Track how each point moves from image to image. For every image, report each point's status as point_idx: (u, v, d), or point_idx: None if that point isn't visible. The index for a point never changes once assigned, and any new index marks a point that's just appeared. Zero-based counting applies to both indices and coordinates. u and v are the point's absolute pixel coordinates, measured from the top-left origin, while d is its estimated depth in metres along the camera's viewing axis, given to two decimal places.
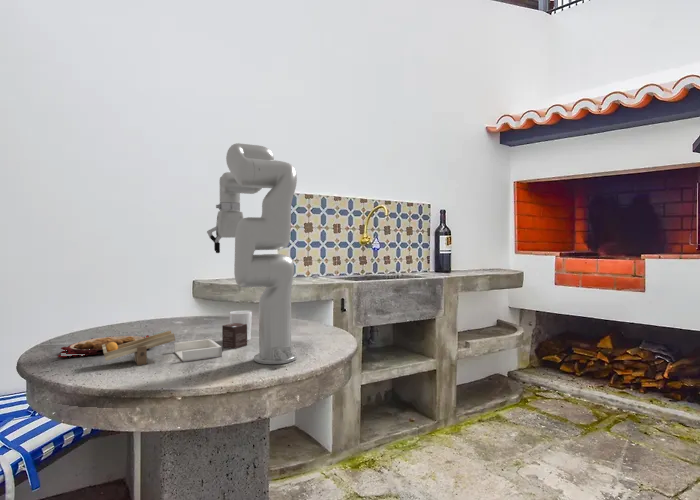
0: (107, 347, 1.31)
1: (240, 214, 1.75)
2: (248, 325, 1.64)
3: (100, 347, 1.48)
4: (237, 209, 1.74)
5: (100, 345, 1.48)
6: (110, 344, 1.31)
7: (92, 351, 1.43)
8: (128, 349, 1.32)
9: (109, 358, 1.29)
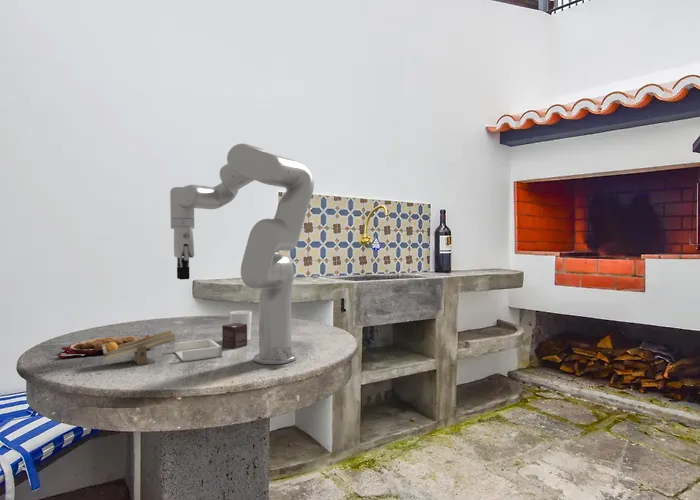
0: (107, 347, 1.31)
1: None
2: (248, 325, 1.64)
3: (100, 347, 1.48)
4: None
5: (100, 345, 1.48)
6: (110, 344, 1.31)
7: (92, 351, 1.43)
8: (128, 349, 1.32)
9: (109, 358, 1.29)
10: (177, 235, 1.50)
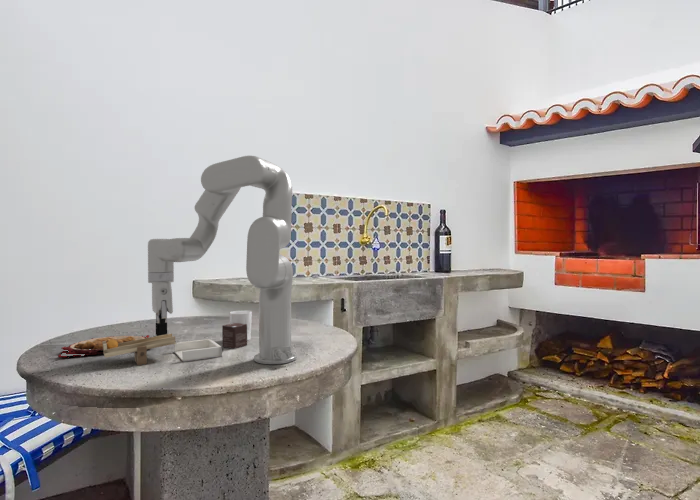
0: (108, 344, 1.31)
1: None
2: (248, 325, 1.64)
3: (100, 347, 1.48)
4: None
5: (100, 345, 1.48)
6: (111, 341, 1.31)
7: (92, 351, 1.43)
8: (128, 348, 1.32)
9: (108, 355, 1.29)
10: (154, 290, 1.41)
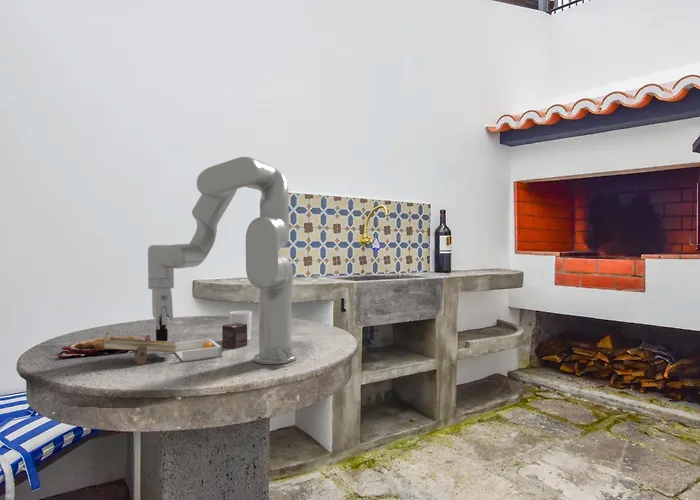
0: None
1: None
2: (248, 325, 1.64)
3: (100, 347, 1.48)
4: None
5: (100, 345, 1.48)
6: (206, 344, 1.45)
7: (92, 351, 1.43)
8: (129, 345, 1.32)
9: (109, 346, 1.29)
10: (154, 296, 1.42)
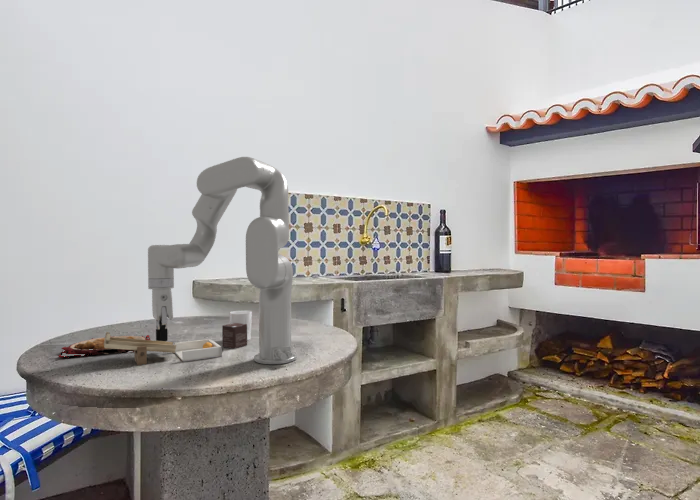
0: (204, 346, 1.45)
1: None
2: (248, 325, 1.64)
3: (101, 347, 1.48)
4: None
5: (100, 345, 1.48)
6: (208, 344, 1.45)
7: (93, 351, 1.43)
8: (129, 345, 1.32)
9: (109, 346, 1.29)
10: (154, 296, 1.42)
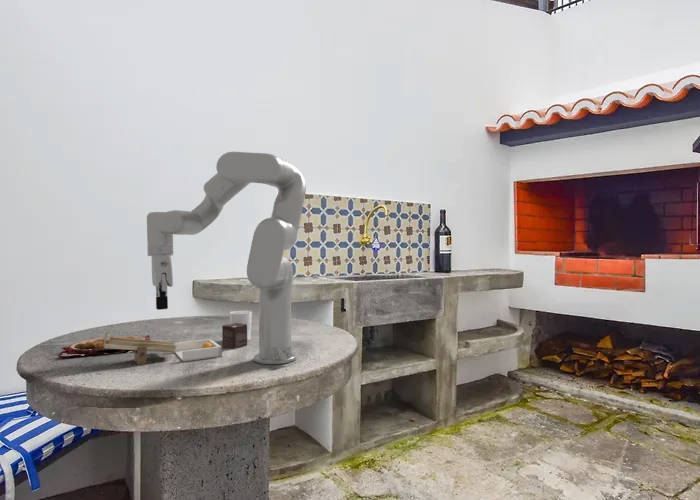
0: (204, 346, 1.45)
1: None
2: (248, 325, 1.64)
3: (101, 347, 1.48)
4: None
5: (101, 345, 1.48)
6: (207, 344, 1.45)
7: (93, 351, 1.43)
8: (129, 345, 1.32)
9: (109, 346, 1.29)
10: (154, 263, 1.41)
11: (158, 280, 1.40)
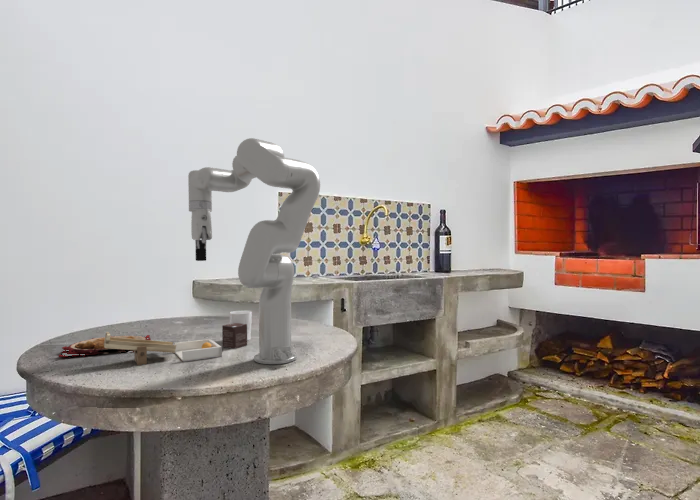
0: (203, 347, 1.45)
1: None
2: (248, 325, 1.64)
3: (101, 347, 1.48)
4: None
5: (101, 345, 1.48)
6: (206, 344, 1.45)
7: (93, 351, 1.43)
8: (129, 345, 1.32)
9: (109, 346, 1.29)
10: (195, 217, 1.53)
11: (199, 232, 1.52)
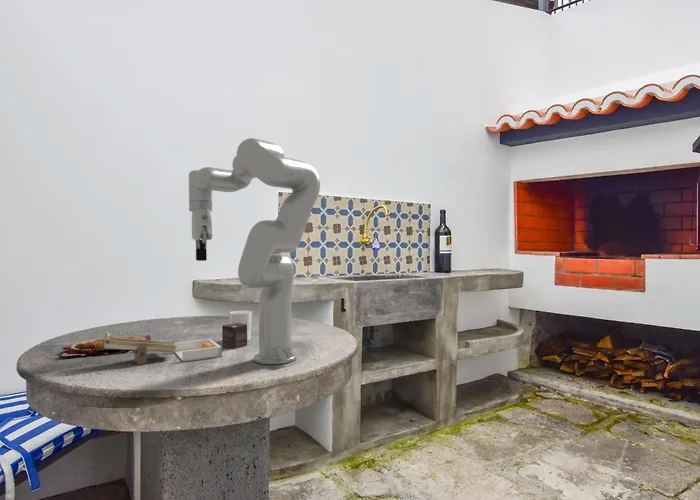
0: (202, 347, 1.45)
1: None
2: (248, 325, 1.64)
3: (101, 347, 1.48)
4: None
5: (101, 345, 1.48)
6: (205, 344, 1.45)
7: (93, 351, 1.43)
8: (129, 345, 1.32)
9: (109, 346, 1.29)
10: (195, 217, 1.53)
11: (199, 232, 1.52)
